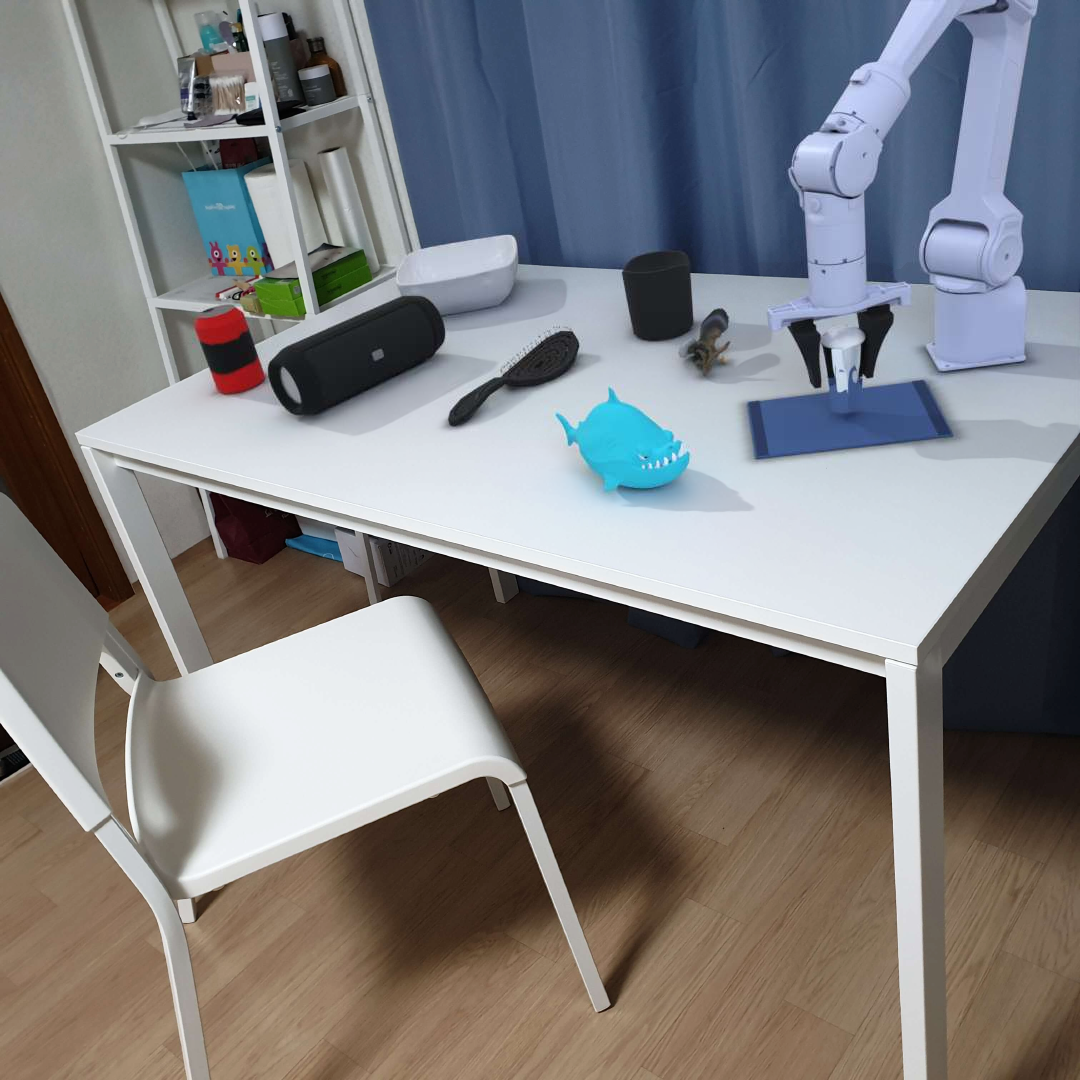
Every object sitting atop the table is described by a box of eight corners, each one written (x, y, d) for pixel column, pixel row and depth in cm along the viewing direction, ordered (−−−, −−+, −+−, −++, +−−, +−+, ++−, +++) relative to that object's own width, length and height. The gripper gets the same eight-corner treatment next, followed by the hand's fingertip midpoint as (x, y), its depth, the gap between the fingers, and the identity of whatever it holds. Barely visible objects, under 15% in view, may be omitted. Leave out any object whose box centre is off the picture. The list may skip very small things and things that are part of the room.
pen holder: (710, 324, 148) (703, 255, 143) (659, 347, 144) (650, 276, 139) (667, 313, 155) (658, 247, 150) (617, 335, 151) (607, 267, 146)
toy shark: (660, 518, 104) (646, 421, 99) (535, 480, 116) (516, 392, 111) (719, 475, 109) (708, 380, 104) (593, 444, 121) (578, 357, 116)
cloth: (924, 382, 119) (924, 379, 119) (953, 436, 107) (953, 433, 107) (747, 404, 123) (747, 401, 123) (755, 458, 111) (755, 456, 111)
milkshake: (810, 407, 116) (804, 322, 111) (854, 395, 117) (851, 309, 112) (829, 422, 112) (824, 334, 107) (875, 409, 113) (872, 321, 108)
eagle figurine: (750, 362, 130) (743, 325, 137) (714, 325, 127) (709, 289, 134) (701, 397, 134) (697, 359, 141) (666, 362, 131) (663, 325, 138)
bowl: (523, 309, 169) (514, 262, 165) (401, 330, 171) (389, 285, 168) (526, 272, 187) (518, 229, 183) (415, 292, 189) (405, 251, 185)
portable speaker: (314, 427, 142) (292, 359, 137) (277, 414, 149) (255, 349, 144) (455, 357, 155) (440, 293, 150) (416, 349, 162) (399, 286, 157)
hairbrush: (424, 402, 135) (544, 322, 149) (431, 427, 137) (550, 346, 151) (469, 410, 130) (590, 327, 144) (476, 436, 132) (595, 351, 146)
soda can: (244, 373, 168) (219, 301, 162) (275, 376, 163) (250, 303, 157) (208, 392, 163) (180, 319, 157) (238, 396, 158) (212, 321, 152)
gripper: (894, 232, 109) (895, 353, 116) (756, 259, 110) (766, 378, 117) (918, 249, 103) (919, 377, 110) (772, 278, 104) (782, 403, 110)
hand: (841, 379), depth 113 cm, fingers closed on milkshake, 5 cm apart
